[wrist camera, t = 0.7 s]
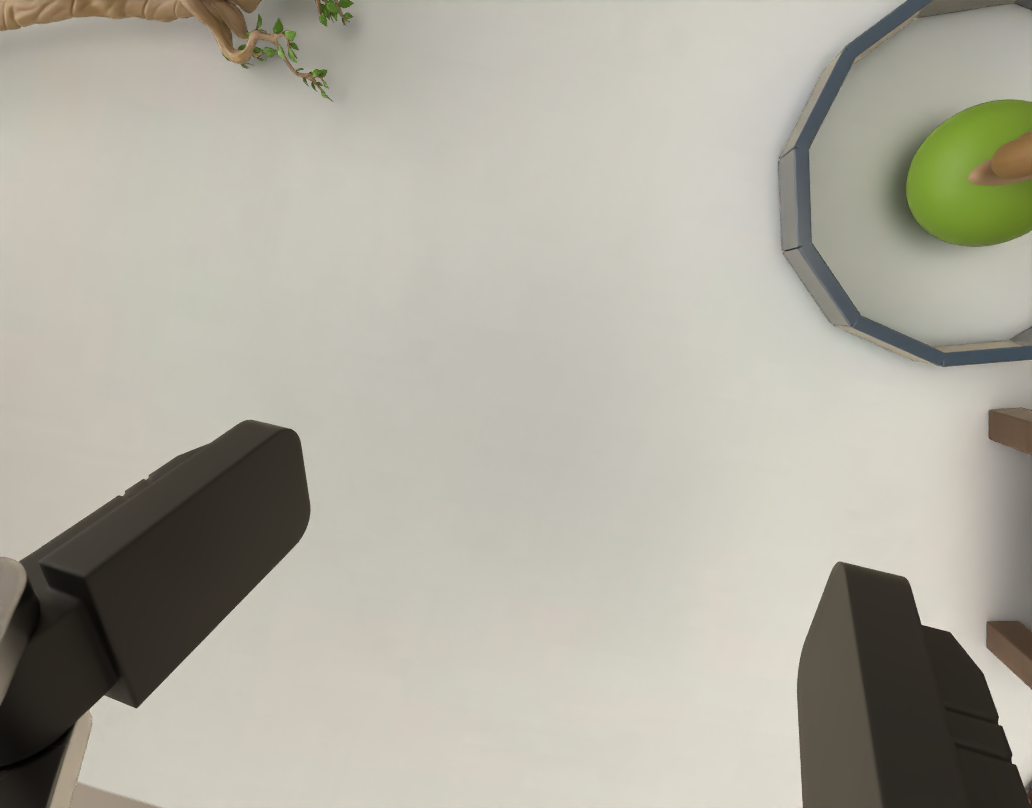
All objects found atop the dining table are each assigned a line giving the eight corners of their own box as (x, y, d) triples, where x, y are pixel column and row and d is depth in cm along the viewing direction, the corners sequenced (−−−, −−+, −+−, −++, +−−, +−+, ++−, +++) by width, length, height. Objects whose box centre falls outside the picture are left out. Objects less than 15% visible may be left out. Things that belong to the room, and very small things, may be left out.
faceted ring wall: (772, 27, 28) (788, 1, 25) (1172, -40, 25) (1233, -76, 23) (786, 371, 30) (801, 378, 27) (1153, 341, 27) (1207, 345, 25)
